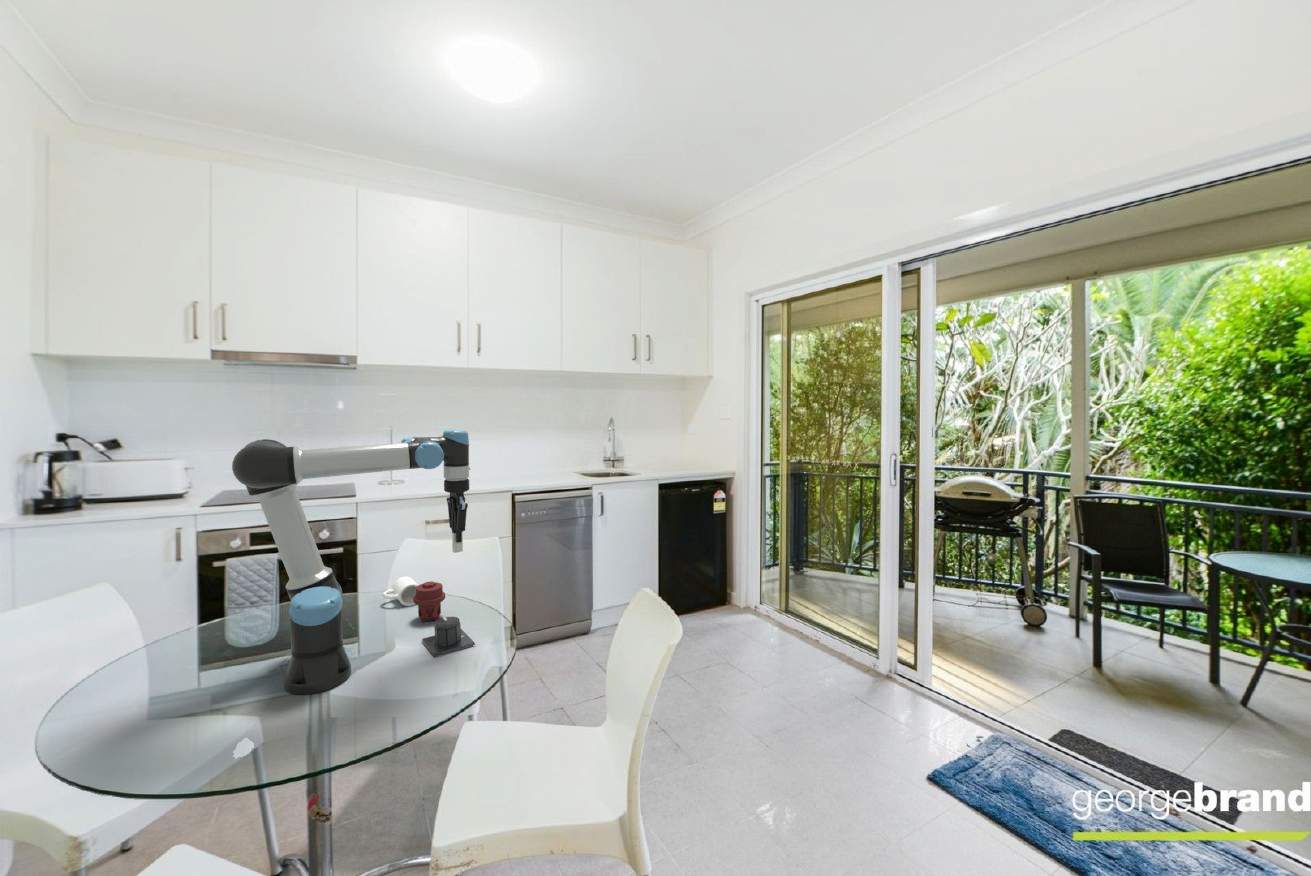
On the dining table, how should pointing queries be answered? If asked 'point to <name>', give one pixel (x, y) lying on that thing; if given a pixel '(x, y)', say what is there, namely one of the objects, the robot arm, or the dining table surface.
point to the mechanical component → (429, 600)
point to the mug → (403, 591)
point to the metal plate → (441, 650)
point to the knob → (447, 631)
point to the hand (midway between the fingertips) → (457, 551)
